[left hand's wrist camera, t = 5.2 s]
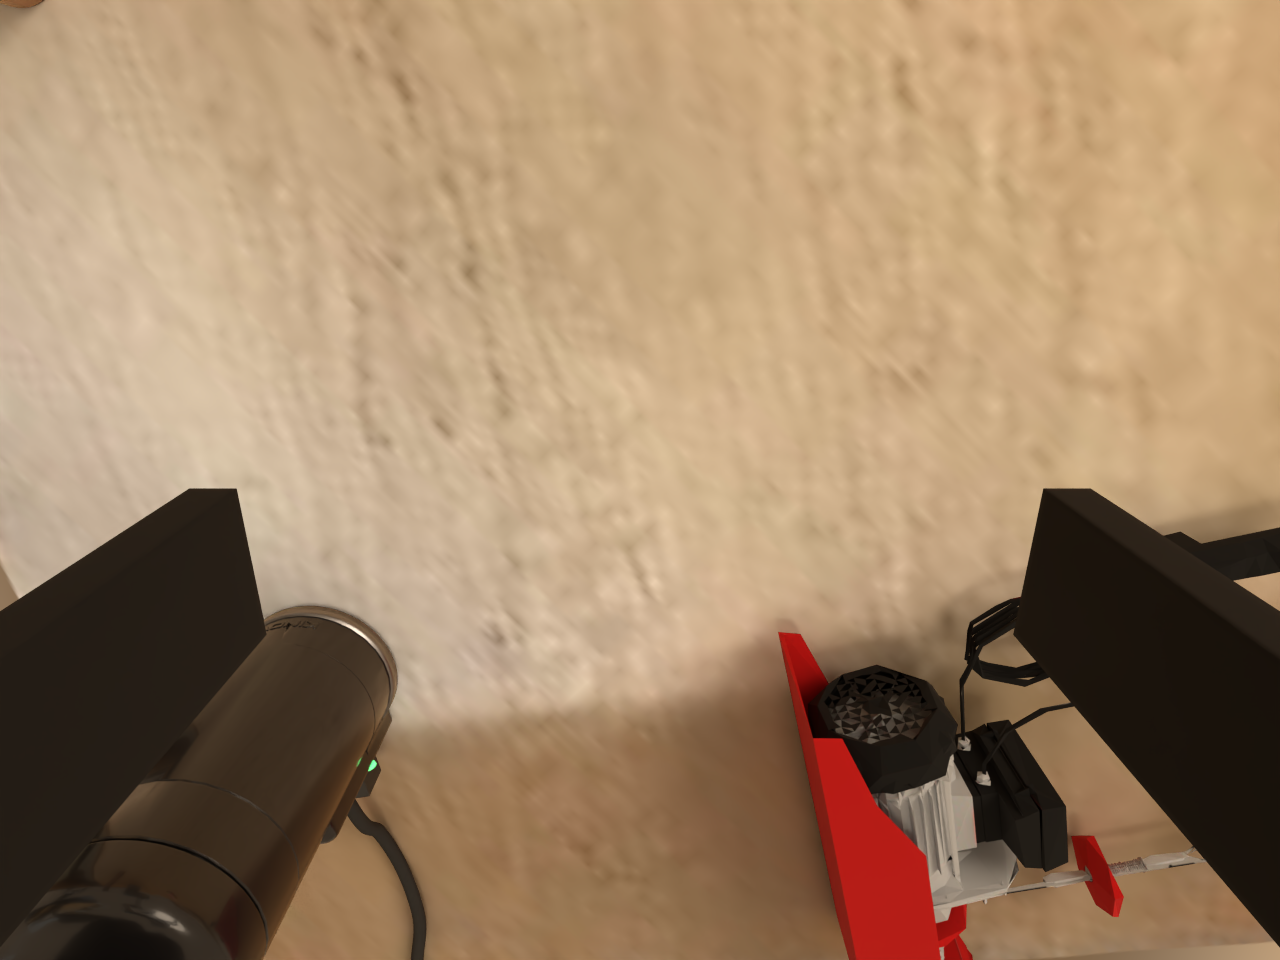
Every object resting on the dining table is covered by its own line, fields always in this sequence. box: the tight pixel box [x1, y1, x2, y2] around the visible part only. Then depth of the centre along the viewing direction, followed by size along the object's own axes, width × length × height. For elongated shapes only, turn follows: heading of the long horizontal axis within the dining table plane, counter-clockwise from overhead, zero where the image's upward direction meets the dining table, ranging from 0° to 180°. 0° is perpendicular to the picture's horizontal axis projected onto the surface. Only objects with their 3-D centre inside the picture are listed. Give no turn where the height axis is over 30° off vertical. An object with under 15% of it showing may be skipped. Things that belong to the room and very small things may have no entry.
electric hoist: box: [778, 527, 1280, 960], centre depth 44 cm, size 10×27×30 cm
